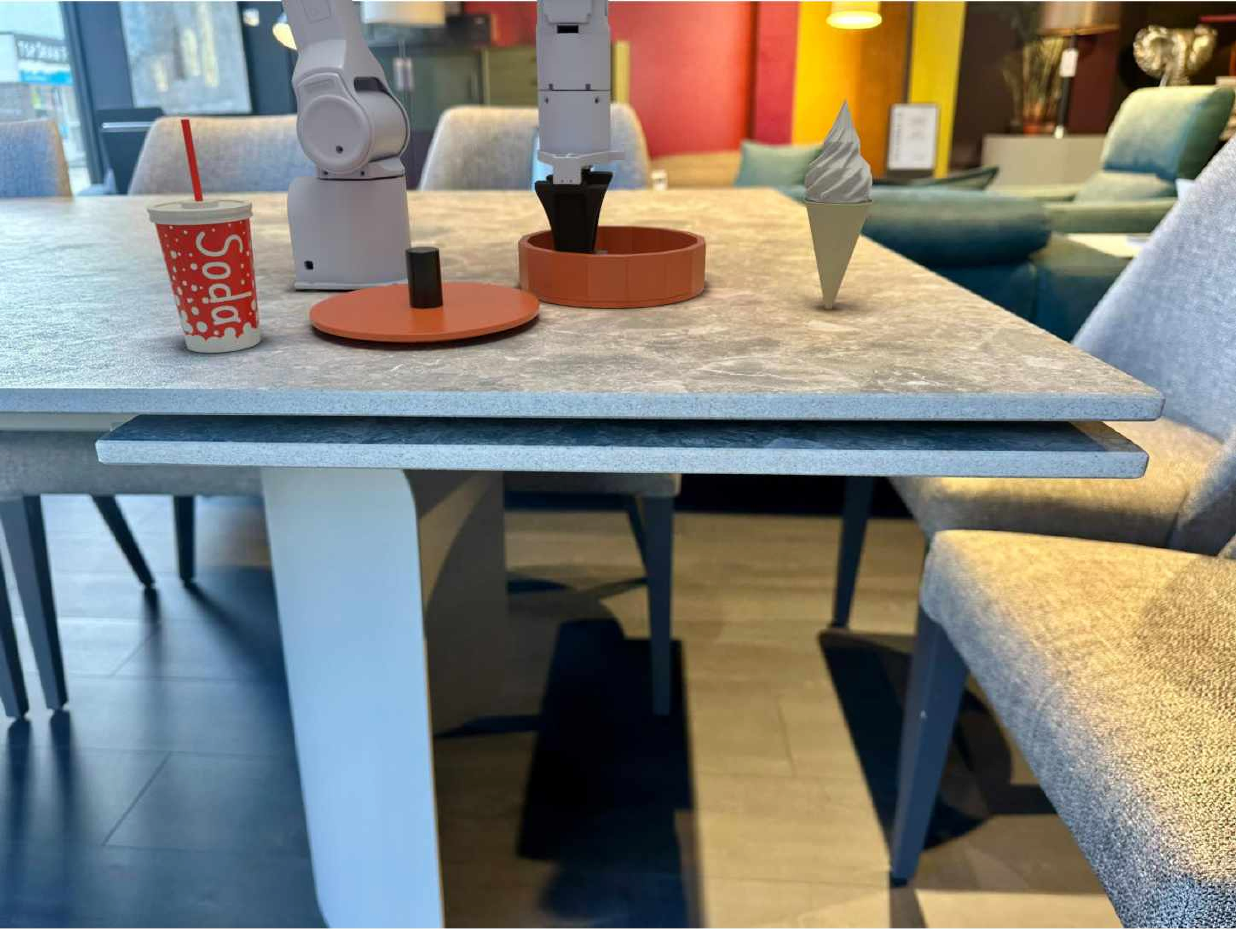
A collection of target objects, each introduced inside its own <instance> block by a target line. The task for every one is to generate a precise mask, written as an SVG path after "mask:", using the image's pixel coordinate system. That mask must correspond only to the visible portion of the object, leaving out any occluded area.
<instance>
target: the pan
mask: <svg viewBox="0 0 1236 929" xmlns="http://www.w3.org/2000/svg"><path fill="white" fill-rule="evenodd" d="M517 250H518V252H517V253H518V273H519V274H518V275H519V284H520V286H521V290H522V291H525V292H527V293H530V294H532V295H533V296H535V297H536V298H537V299H538V300H539V301H540V302H545V303H549V304H553V305H554V304H555V305H561V306H567V307H568V306H569V307H576V308H577V307H579V308H593V309H633V308H634V309H635V308H647V307H657V306H663V305H670V304H676V303H679V302H685V301H688V300H690V299H694V298H695V297H697V296H699V295H700V294H702V292H703V291H704V289H705V288H704V287H705V284H706V282H705V281H706V256H707V241H706V238H705V237H704V236H702V235H700V234H697V233H695V232H691V231H687V230H681V229H675V228H669V227H668V228H667V227H657V226H645V225H609V224H607V225H604V224H603V225H602V224H601V225H599V224H598V229H597V236H596V243H595V248H594V250H596V251H608V254H581V253H569V252H558V251H552V250H555V245H554V240H553V236H552V231H551V229H544V230H538V231H535V232H531V233H527V234H525V235H522V236H521V237H520V239H519V240H518V241H517Z"/></svg>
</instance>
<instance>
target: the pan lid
mask: <svg viewBox="0 0 1236 929" xmlns="http://www.w3.org/2000/svg"><path fill="white" fill-rule="evenodd" d="M405 257H406V268H407V279H408V284H396V285H387V286H380V287H372V288H367V289H361V290H352V291H348V292H343V293H340V294H336V295H333V296H331V297H330V296H329V297H328V298H325V299H323V300H320V301H319V302H317V303H316V304H315V305H313V306H312V307H311V308H310V309H309V313H308V317H309V321H310V323H311V325H312V326H313V327H314V328H315V329H317V330H319V331H321V332H323V333H327V334H330V335H334V336H338V337H343V338H347V339H354V340H364V341H371V342H380V343H393V344H427V343H443V342H452V341H459V340H467V339H473V338H477V337H481V336H482V337H483V336H486V335H489V334H494V333H499V332H502V331H506V330H509V329H513V328H516V327H519V326H521V325H523V324H526V323H528V322H530V321H532V320H533V319H535V317H537V315H538V314H539V313H540V308H541V307H540V300H538V299H537V298H536V297H535V296H533V295H532V294H530V293H527V292H525V291H522V289H518V288H514V287H510V286H505V285H498V284H491V283H481V282H468V281H467V282H466V281H465V282H464V281H443V279H442V267H441V253H440V249H439V247H434V246H415V247H414V246H413V247H412V248H409V249H406V250H405Z"/></svg>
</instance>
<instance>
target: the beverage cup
mask: <svg viewBox="0 0 1236 929" xmlns="http://www.w3.org/2000/svg"><path fill="white" fill-rule="evenodd" d="M180 124H181V129H182V134H183V142H184V147H185V152H186V158H187V164H188V168H189V175H190V180H191V186H192V191H193V197H194V198H193V199H192V198H191V199H184V200H175V201H165V202H160V203H154V204H150V205H148V206H146V212H147V213H148V214H149V218H148V219H149V221H150V223H153V224H154V226H155V231H156V234H157V237H158V242H159V245H160V249H161V253H162V256H163V260H164V261H163V262H164V265H165V269H166V272H167V276H168V280H169V284H170V288H171V291H172V295H173V298H174V303H175V306H176V311H177V314H178V318H179V322H180V326H181V330H182V334H183V338H184V341H185V344H186V345H185V346H186V347H187V349H188V350H189V351H191V352H195V353H206V354H212V353H213V354H214V353H227V352H234V351H235V352H236V351H240V350H245V349H249V348H252V347H254V346H256V345H258V344H259V343H260V342H261V341H262V336H261V327H260V316H259V315H260V314H259V305H258V294H257V285H256V274H255V272H256V271H255V262H254V252H253V241H252V231H251V230H252V229H251V218H252V217H253V216H254V214H253V211H252V210H253V203H252V202H251V201H250V200H245V199H235V198H204V197H203V191H202V184H201V179H200V174H199V168H198V161H197V157H196V151H195V146H194V139H193V133H192V127H191V122H190V119H188V118H184V119H180Z"/></svg>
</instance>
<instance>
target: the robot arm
mask: <svg viewBox="0 0 1236 929" xmlns="http://www.w3.org/2000/svg"><path fill="white" fill-rule="evenodd" d="M280 2H281V5H282V9H283V12H284V15H285V17H286V21H287V23H288V26H289V30H290V33H291V36H292V39H293V42H294V45H295V48H296V51H297V61H296V64H295V66H294V70H293V74H292V77H291V85H292V88H293V91H294V94H295V98H296V102H297V103H296V104H297V113H296V122H295V126H296V130H295V132H296V136H297V139H298V143H299V145H300V148H301V150H302V151H303V153H304V154H305V156H306V157H307V158H308V159H309V160H310V162H311V163H312V164H313V165H315V166H314V175H300V176H296V177H294V178H293V179H292V180H291V182H290V184H289V185H288V186H289V187H288V190H287V197H286V211H287V212H286V213H287V221H288V228H289V234H290V235H289V236H290V243H291V250H292V257H293V264H294V271H295V279H296V281H295V282H294V283H293V288H294V289H296V290H352V291H356V290H361V289H367V288H372V287H380V286H387V285H396V284H408V279H407V268H406V257H405V250H406V249H409V248H413V247H412V237H411V226H410V215H409V202H408V192H407V182H406V174H405V173H406V168H405V166H404V165H403V163H402V161H401V159H400V158H401V156H402V155H403V154H404V152H405V151H406V149H407V147H408V145H409V141H410V138H411V122H410V118H409V116H408V113H407V110H406V108H405V107H404V105H403V104H402V102H401V101H400V100H399V98H397V97H396V96H395V94H394V93H393V92H392V90H391V89H390V86H389V83H388V81H387V80H386V79H387V78H386V74H385V72H384V70H383V67H382V66H381V64H380V62H379V61H378V60H377V58H376V57H375V56H374V54H373V53H372V51H371V50H370V48H369V46H368V44H367V43H366V42H365V38H364V34H363V30H362V27H361V25H360V21H359V18H358V14H357V11H356V8H355V5H354V1H353V0H280ZM536 14H537V15H536V17H537V18H536V20H537V21H536V25H535V44H536V45H535V48H536V75H537V76H536V78H537V82H536V83H537V107H538V108H537V109H538V141H539V147H538V148H539V149H538V150H537V151H536V155H537V156H536V158H537V161H538V162H541V163H543V164H545V165H549V166H552V174H548V175H546V176H545V179H544V180H538V179H537V180H536V181H535V182H534V184H533V185H534V186H533V187H534V191H535V195H536V196H537V198H538V200H539V201H540V203H541V205H542V208H543V210H544V213H545V215H546V218H547V220H548V224H549V227H550V230H551V231H552V236H553V240H554V245H555V250H556V251H558V252H569V253H581V254H591V250H594V248H595V243H596V236H597V229H598V226H599V221H600V216H601V210H602V207H603V204H604V199H605V196H606V193H607V191H608V189H609V186H610V184H611V182H612V180H613V178H614V173H613V172H612V171H609V170H607V171H606V170H599V171H598V170H592V168H593V169H594V167H595V165H599V164H604V163H610V162H612V161H622V160H623V161H624V160H625V159H626V150H625V149H623V148H622V149H621V148H617V149H616V148H611V147H612V146H611V145H612V144H611V143H612V142H611V135H612V134H611V132H612V131H611V84H612V83H611V81H612V80H611V78H612V77H611V76H612V75H611V26H610V24H609V20H608V18H609V17H608V16H609V14H610V0H536Z"/></svg>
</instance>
